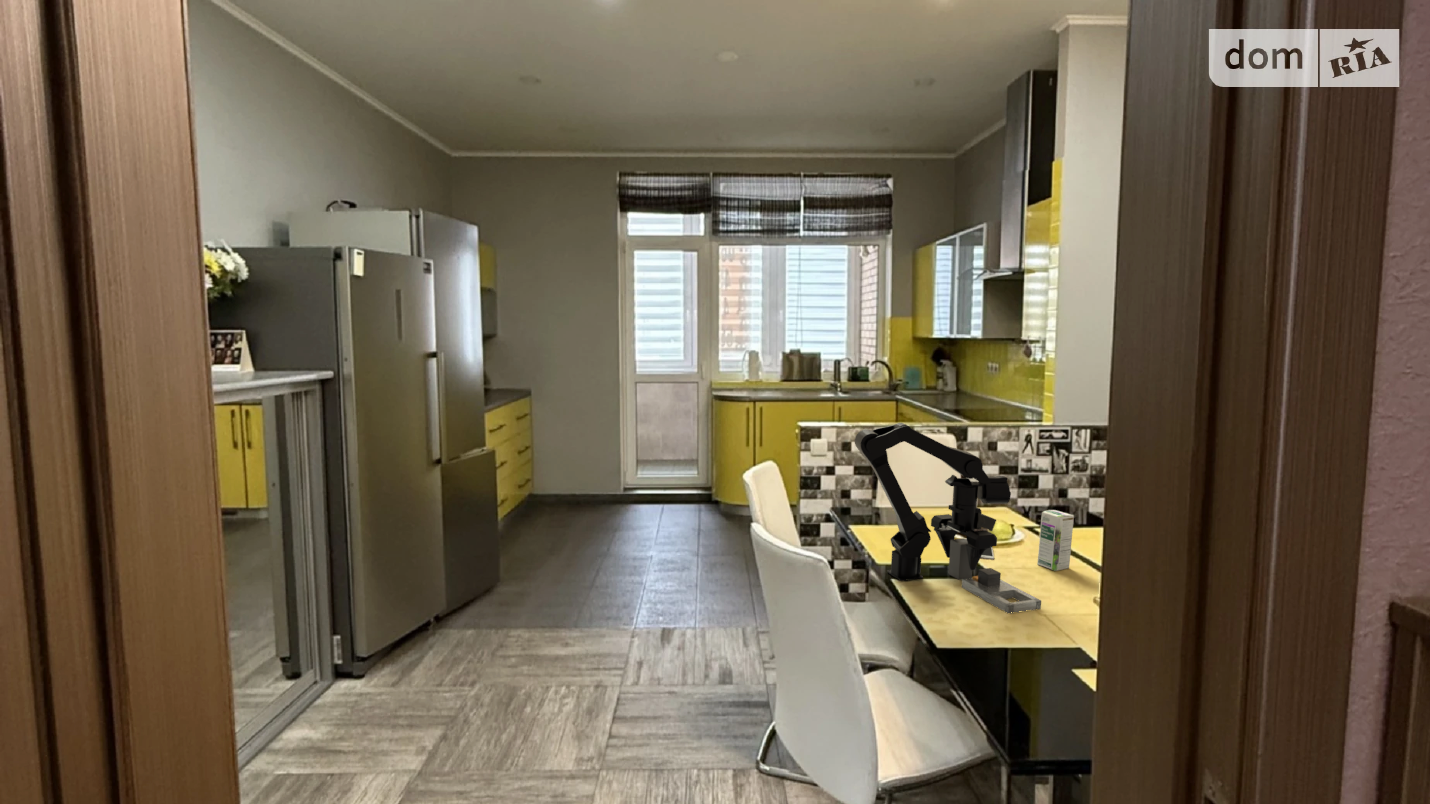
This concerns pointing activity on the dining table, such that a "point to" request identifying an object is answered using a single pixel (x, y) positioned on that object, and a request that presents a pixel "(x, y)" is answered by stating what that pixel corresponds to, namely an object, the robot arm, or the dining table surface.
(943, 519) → the robot arm
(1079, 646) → the dining table surface
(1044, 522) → the syrup box
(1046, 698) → the dining table surface
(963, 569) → the plug
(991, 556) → the smartphone
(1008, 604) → the grey board with hole
